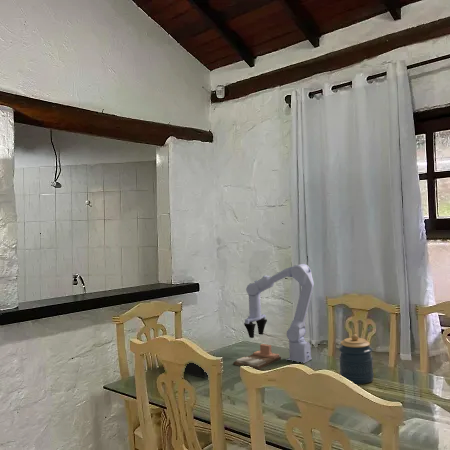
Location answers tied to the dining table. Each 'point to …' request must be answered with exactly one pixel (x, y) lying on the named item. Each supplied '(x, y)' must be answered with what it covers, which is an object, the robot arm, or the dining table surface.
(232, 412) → the dining table surface
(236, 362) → the ticket board
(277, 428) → the dining table surface
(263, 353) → the stub
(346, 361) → the canister
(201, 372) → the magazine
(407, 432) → the dining table surface
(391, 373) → the dining table surface
